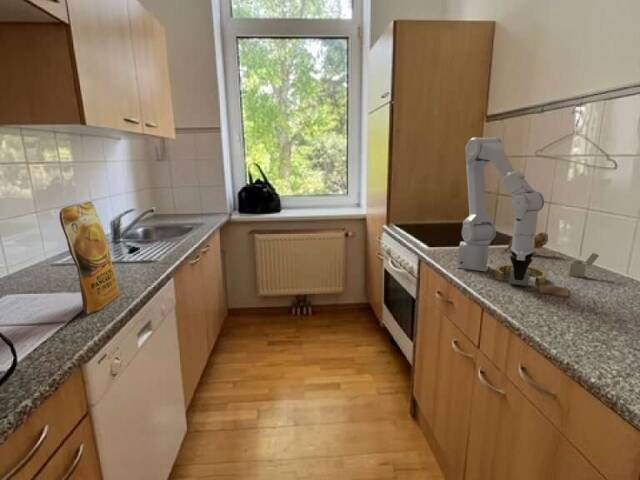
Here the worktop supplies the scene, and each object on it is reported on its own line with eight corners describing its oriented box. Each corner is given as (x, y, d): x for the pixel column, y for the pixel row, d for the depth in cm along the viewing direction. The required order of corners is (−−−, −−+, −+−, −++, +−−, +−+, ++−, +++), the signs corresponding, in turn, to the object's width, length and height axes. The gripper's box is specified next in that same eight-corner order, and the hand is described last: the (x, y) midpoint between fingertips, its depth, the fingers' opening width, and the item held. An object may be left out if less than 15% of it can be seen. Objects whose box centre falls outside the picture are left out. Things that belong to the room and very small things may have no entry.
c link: (508, 283, 111) (510, 270, 110) (509, 279, 114) (511, 267, 113) (527, 286, 108) (529, 273, 107) (528, 281, 111) (529, 269, 111)
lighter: (569, 275, 119) (572, 252, 117) (567, 274, 120) (571, 250, 119) (595, 278, 116) (599, 253, 114) (593, 276, 118) (597, 252, 116)
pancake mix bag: (66, 318, 93) (46, 209, 87) (105, 291, 112) (91, 199, 106) (93, 317, 94) (75, 208, 87) (128, 290, 112) (114, 199, 106)
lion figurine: (544, 253, 145) (547, 231, 143) (547, 257, 140) (550, 234, 138) (503, 250, 150) (505, 229, 148) (504, 254, 145) (507, 231, 143)
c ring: (493, 279, 116) (494, 272, 116) (498, 267, 129) (499, 260, 128) (545, 287, 109) (546, 279, 109) (545, 273, 122) (546, 265, 121)
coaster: (539, 293, 104) (539, 291, 104) (539, 285, 110) (539, 284, 110) (568, 297, 101) (568, 295, 101) (567, 289, 107) (567, 287, 107)
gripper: (539, 239, 99) (533, 287, 103) (540, 230, 112) (535, 272, 115) (510, 237, 103) (505, 283, 106) (514, 228, 115) (509, 269, 118)
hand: (519, 277), depth 111 cm, fingers closed on c link, 4 cm apart
